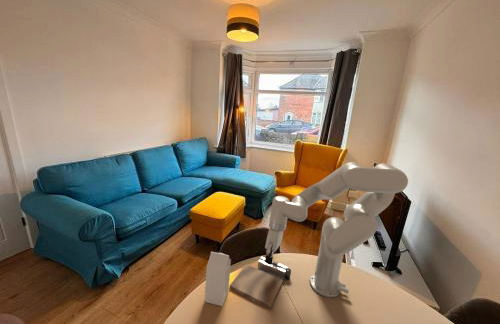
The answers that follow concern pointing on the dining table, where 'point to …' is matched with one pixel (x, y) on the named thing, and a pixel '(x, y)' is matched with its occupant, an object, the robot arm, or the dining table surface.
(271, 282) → the walnut board
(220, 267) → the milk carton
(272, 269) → the gray rounded bar
